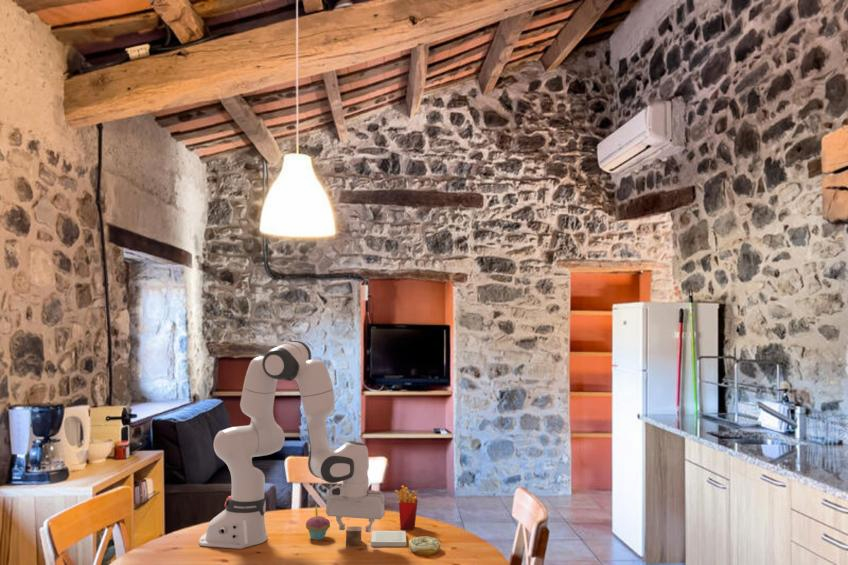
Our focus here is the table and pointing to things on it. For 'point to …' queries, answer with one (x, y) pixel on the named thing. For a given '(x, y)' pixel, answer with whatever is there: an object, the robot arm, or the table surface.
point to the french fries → (407, 508)
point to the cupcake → (317, 526)
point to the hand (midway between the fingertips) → (355, 530)
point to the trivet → (388, 538)
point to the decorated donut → (424, 545)
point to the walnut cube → (353, 536)
